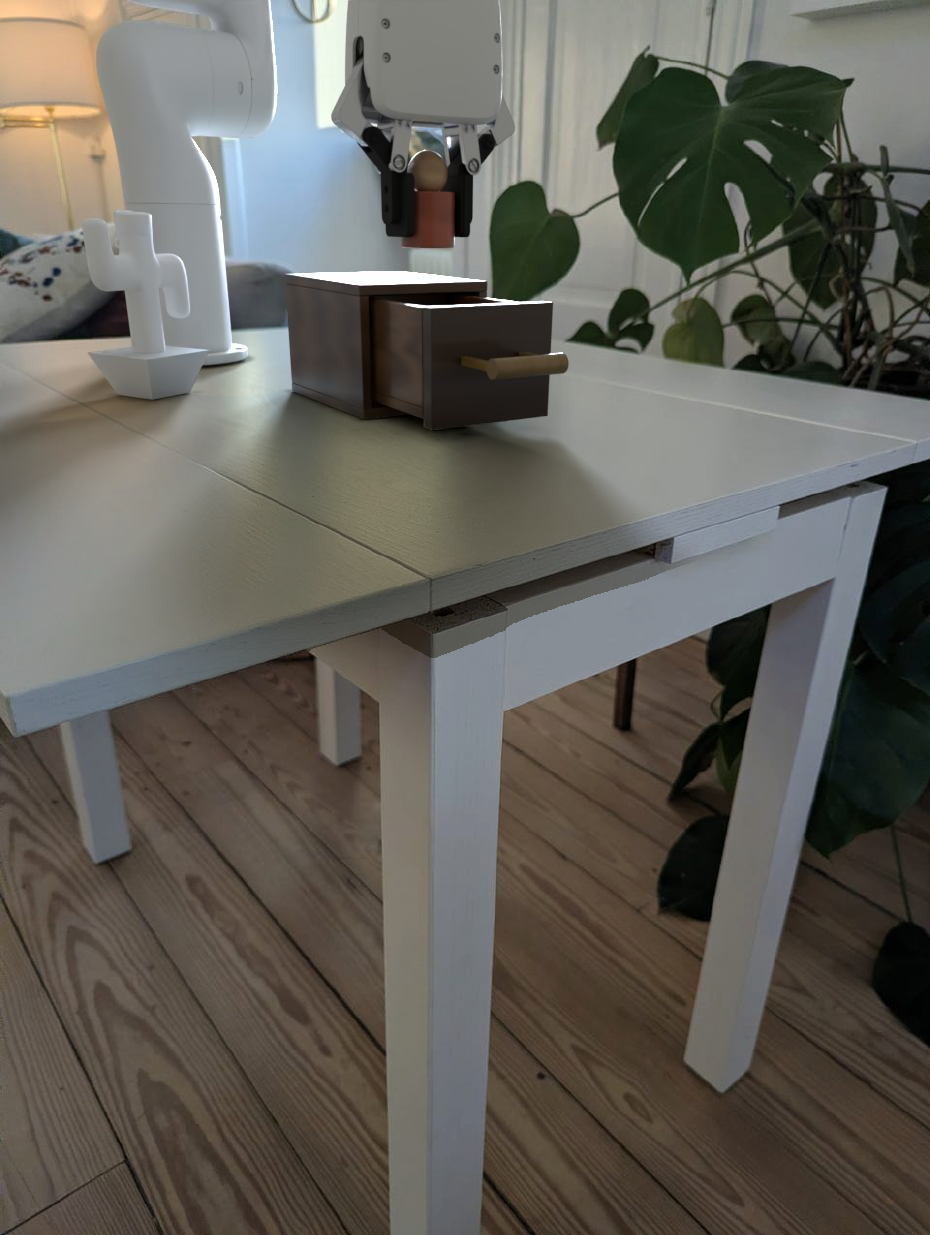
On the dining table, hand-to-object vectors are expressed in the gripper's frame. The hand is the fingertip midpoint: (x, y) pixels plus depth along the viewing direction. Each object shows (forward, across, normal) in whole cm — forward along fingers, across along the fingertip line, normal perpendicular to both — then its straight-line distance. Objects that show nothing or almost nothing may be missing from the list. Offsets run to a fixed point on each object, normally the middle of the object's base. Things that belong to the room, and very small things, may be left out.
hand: (427, 233), depth 65 cm
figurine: (+14, +15, -24) cm, 31 cm away
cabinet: (+14, -2, -12) cm, 18 cm away
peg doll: (+1, 0, 0) cm, 1 cm away
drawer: (+13, -2, +1) cm, 13 cm away
